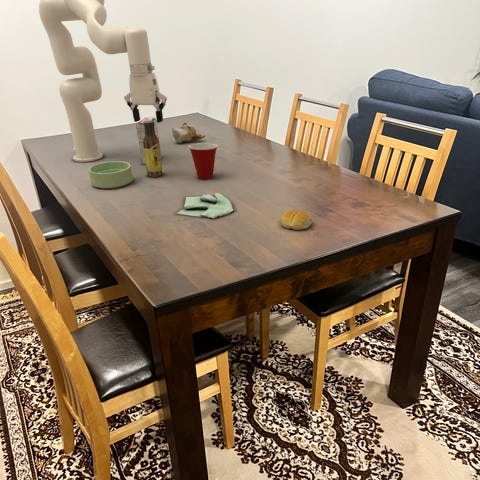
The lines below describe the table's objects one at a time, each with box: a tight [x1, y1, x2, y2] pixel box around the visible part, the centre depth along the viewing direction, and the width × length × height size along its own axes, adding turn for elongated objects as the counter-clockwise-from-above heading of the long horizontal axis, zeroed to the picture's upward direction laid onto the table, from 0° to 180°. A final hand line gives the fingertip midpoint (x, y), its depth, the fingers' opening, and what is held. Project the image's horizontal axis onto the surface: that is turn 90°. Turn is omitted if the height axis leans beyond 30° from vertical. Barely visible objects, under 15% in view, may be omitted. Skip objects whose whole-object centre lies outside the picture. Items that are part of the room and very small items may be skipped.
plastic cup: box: [188, 142, 219, 180], centre depth 180 cm, size 11×11×12 cm
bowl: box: [88, 160, 134, 189], centre depth 180 cm, size 15×15×6 cm
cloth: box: [176, 192, 235, 220], centre depth 158 cm, size 20×22×2 cm
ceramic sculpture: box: [171, 122, 206, 144], centre depth 227 cm, size 11×9×15 cm
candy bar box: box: [135, 116, 160, 165], centre depth 200 cm, size 11×5×16 cm, turn 168°
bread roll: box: [280, 210, 313, 231], centre depth 141 cm, size 8×9×4 cm
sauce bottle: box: [143, 121, 164, 178], centre depth 182 cm, size 6×6×20 cm
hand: (148, 121), depth 176 cm, fingers open, 9 cm apart
